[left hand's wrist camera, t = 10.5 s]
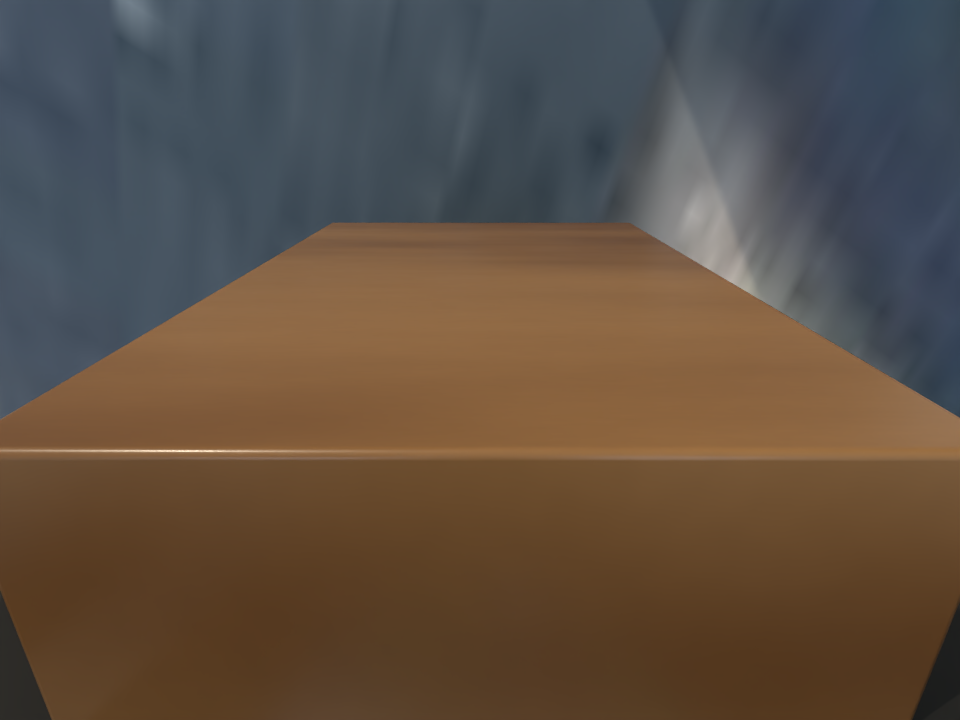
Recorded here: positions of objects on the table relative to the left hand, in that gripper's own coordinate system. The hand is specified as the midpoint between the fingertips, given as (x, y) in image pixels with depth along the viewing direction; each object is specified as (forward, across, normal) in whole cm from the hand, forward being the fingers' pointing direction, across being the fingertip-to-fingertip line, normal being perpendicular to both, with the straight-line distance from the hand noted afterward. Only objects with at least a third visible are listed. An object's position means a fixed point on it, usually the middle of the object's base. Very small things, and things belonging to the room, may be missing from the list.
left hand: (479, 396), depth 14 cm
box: (+2, 0, -11) cm, 11 cm away
